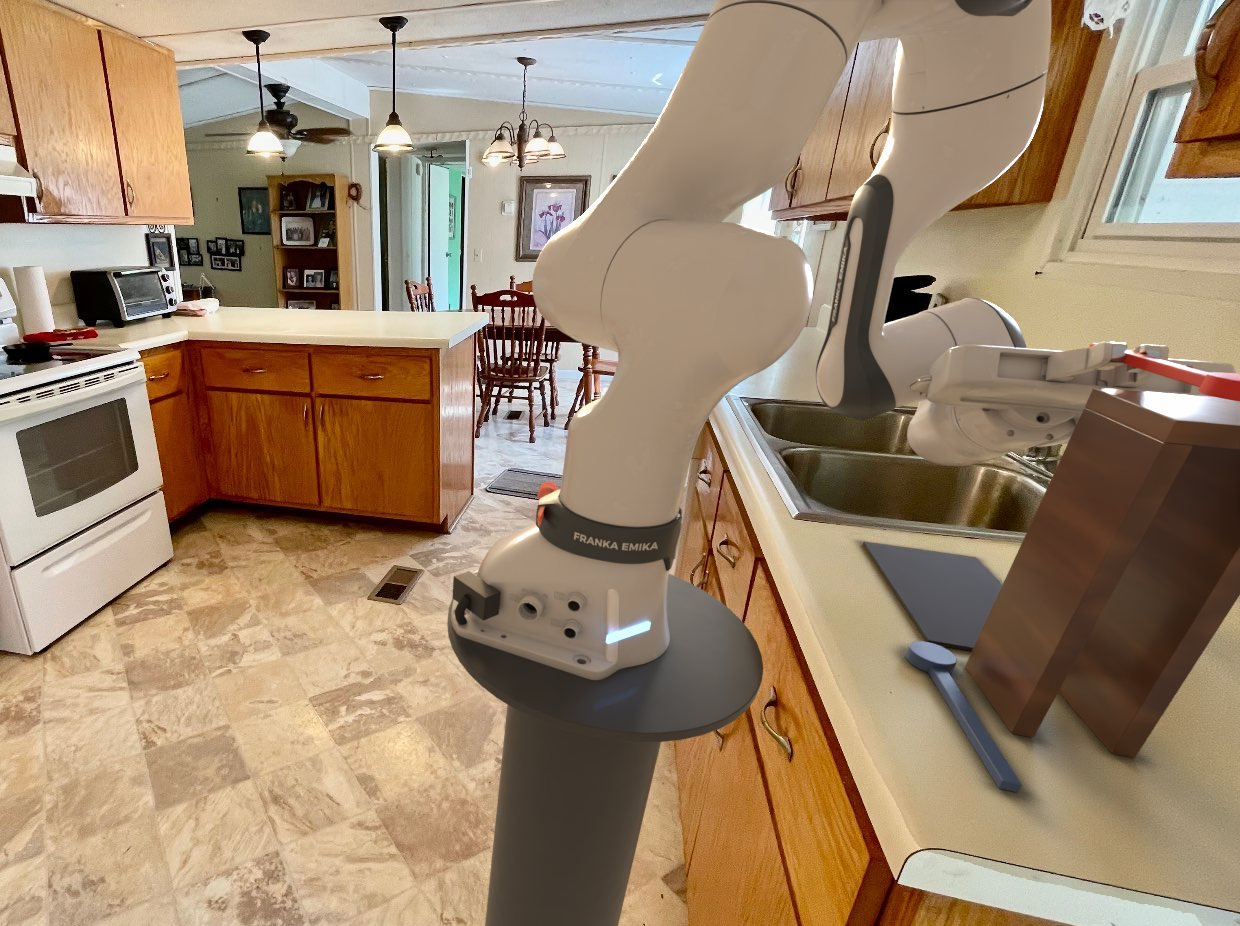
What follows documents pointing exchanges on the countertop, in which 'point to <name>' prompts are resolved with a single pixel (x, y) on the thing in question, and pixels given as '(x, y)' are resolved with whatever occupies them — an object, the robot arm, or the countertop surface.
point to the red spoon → (1188, 375)
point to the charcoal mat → (939, 591)
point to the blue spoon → (962, 709)
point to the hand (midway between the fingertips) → (1136, 352)
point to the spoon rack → (1120, 568)
